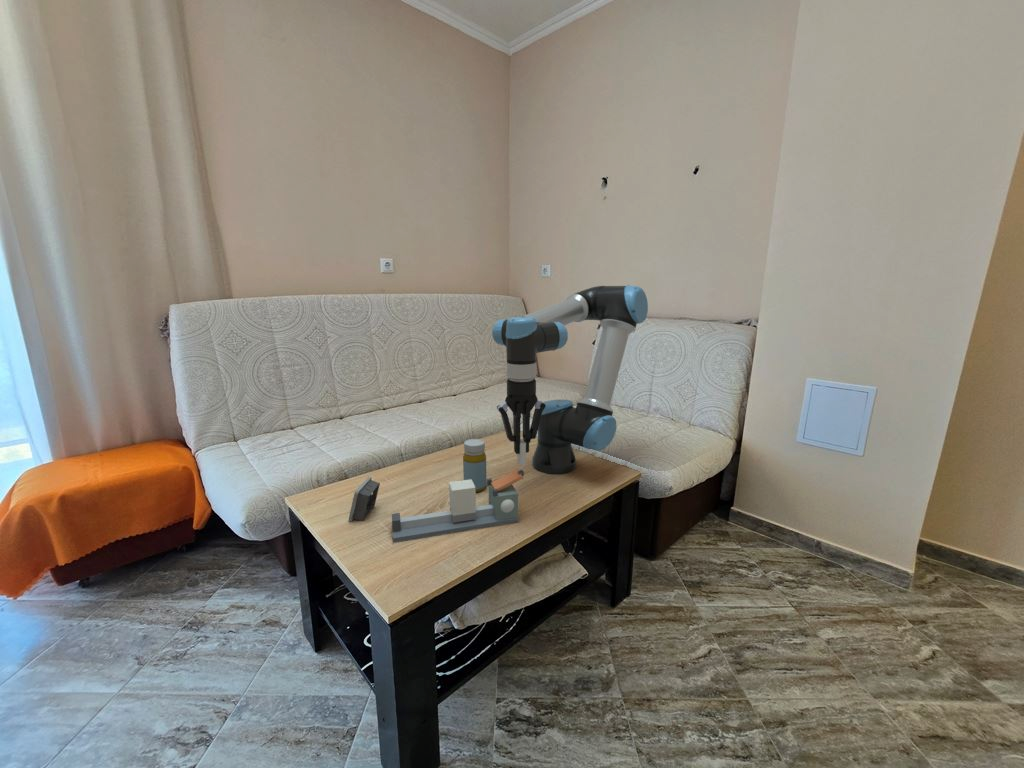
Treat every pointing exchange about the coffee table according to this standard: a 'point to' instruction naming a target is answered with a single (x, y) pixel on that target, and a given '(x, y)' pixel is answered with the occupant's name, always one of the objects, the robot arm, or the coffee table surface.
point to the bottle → (475, 463)
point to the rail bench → (441, 523)
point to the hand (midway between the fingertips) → (521, 463)
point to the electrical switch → (364, 499)
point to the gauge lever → (507, 480)
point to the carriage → (462, 500)
